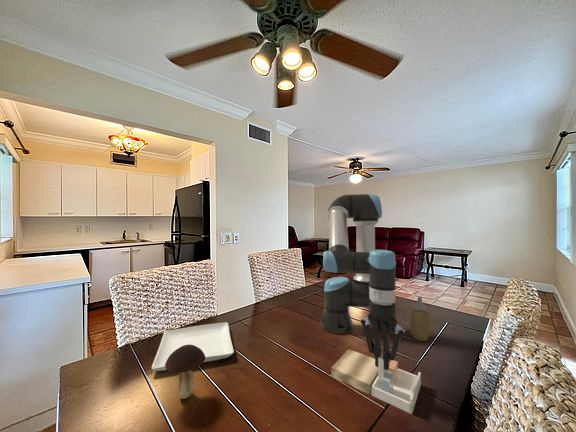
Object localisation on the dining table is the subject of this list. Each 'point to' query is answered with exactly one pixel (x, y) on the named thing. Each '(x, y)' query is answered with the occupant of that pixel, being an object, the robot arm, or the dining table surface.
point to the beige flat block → (355, 370)
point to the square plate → (196, 343)
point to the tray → (400, 391)
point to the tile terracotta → (393, 369)
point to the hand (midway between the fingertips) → (382, 378)
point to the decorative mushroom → (185, 367)
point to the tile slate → (388, 382)
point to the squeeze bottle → (420, 321)
